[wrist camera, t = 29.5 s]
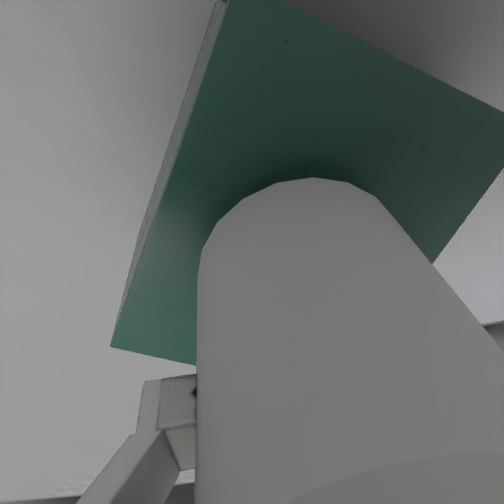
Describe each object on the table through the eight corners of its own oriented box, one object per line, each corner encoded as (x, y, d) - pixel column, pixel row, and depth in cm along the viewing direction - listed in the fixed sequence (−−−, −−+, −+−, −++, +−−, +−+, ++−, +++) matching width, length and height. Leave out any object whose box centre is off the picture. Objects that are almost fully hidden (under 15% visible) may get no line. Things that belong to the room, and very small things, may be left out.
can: (337, 122, 14) (730, 528, 3) (423, 274, 17) (737, 688, 7) (154, 245, 15) (65, 757, 5) (268, 360, 19) (344, 792, 9)
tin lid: (235, -23, 12) (237, -24, 12) (521, 122, 15) (534, 127, 15) (112, 335, 19) (109, 347, 18) (331, 385, 22) (334, 396, 21)
